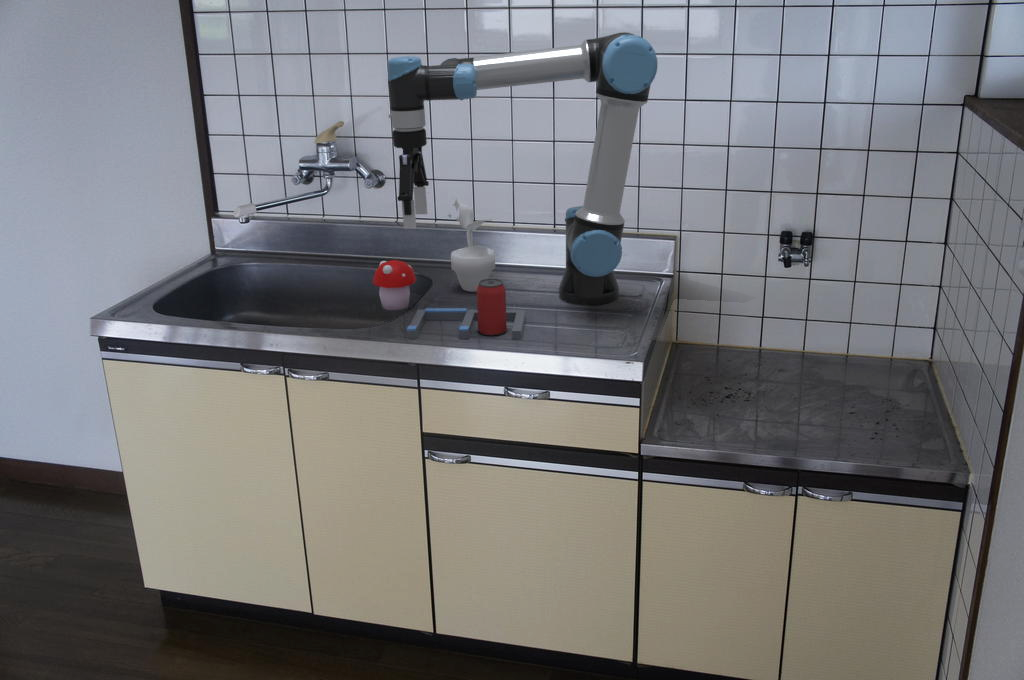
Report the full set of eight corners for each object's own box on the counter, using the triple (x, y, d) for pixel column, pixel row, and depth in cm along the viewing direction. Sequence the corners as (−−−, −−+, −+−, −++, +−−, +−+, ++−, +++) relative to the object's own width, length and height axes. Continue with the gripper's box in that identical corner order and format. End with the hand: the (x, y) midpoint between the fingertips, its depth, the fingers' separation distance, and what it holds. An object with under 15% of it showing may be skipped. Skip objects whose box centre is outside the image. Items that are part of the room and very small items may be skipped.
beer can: (508, 326, 227) (506, 277, 223) (505, 336, 221) (503, 286, 217) (480, 326, 228) (478, 277, 223) (476, 336, 221) (474, 286, 217)
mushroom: (392, 296, 250) (389, 251, 246) (426, 302, 245) (424, 257, 240) (366, 309, 242) (362, 262, 237) (401, 315, 236) (398, 268, 232)
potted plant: (443, 289, 255) (438, 195, 246) (476, 279, 262) (473, 187, 253) (474, 299, 246) (470, 202, 237) (508, 289, 253) (505, 194, 245)
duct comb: (525, 317, 232) (525, 308, 232) (521, 339, 219) (520, 329, 218) (418, 317, 235) (417, 308, 234) (407, 338, 221) (406, 328, 220)
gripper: (404, 120, 229) (410, 208, 237) (379, 138, 206) (388, 235, 214) (435, 119, 229) (441, 208, 236) (414, 137, 206) (421, 234, 213)
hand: (415, 221), depth 225 cm, fingers open, 13 cm apart
